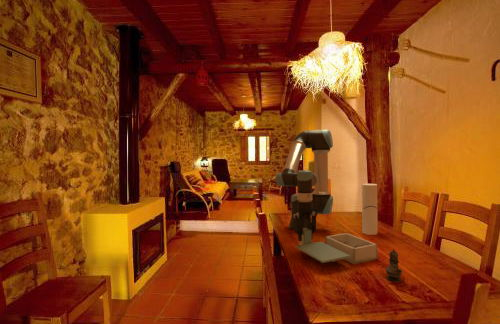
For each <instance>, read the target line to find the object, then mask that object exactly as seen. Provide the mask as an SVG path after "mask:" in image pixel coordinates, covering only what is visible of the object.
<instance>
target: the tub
mask: <svg viewBox="0 0 500 324" xmlns="http://www.w3.org/2000/svg"><path fill="white" fill-rule="evenodd" d="M324 238H325V239H324V241H325V242H324V243H325V244H327V245H329V246H331V247H333V248H336V249H338V250H340V251H342V252H344V253H346V254H348V255H351V257H349V258H344V259H343V260H344V261H346V262H347V263H350V264H352V265H358V264H363V263H367V262H371V261H376V260H378V243H375V242H371V241H370V240H367V239H364V238H361V237H359V236H355V235H353V234H351V233H347V232H344V233H338V234H334V235H333V234H332V235H328V236H327V235H326V236H324ZM336 240H340V241H344V242H345V244H343V243H341V242H339V241H336ZM355 245H364V246H362V247H357V248H355Z"/></svg>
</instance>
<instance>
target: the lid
mask: <svg viewBox="0 0 500 324" xmlns="http://www.w3.org/2000/svg"><path fill="white" fill-rule="evenodd" d="M302 235H304V244H303V245H295V249H297V250H299V251H301V252H303V253H305V254H306V255H308V256H310V257H311V258H313V259H314V260H316V261H319V262H320V263H322V264H324V263H330V262H332V263H334V262H336V261H339V260H344V258H349V257H351V255H348V254H346V253H344V252H342V251H340V250H338V249H336V248H333V247H331V246H329V245H327V244H325V242H323V241H316V242H313V239H312V230H310V229H307V228H303V232H302Z"/></svg>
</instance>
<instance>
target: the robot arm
mask: <svg viewBox="0 0 500 324" xmlns="http://www.w3.org/2000/svg"><path fill="white" fill-rule="evenodd" d="M333 141H334V140H333V136H332V132H331V130H329V129H314V130H313V129H311V130H307V129H306V130H303V131H301V132H300V133H298V134H297V135H296V136H295V137H294V138H293V139H292V141H291V143H290V151H289V153H288V156H287V159H286V161H285V164H284V166H283V169H282V171H281V172H277V173H276V175H275V183H276V185H277V186H278V187H279V186H280V187H297V190H296V191H297V193H294V194H292V195H291V198H290V199H291V201H290V202H291V203H290V205H291V216H290V220H289V224H288V228H289V229H290V230H291V231H292V230H293V231H294V234H296V235H297V239H298V241H299V245H303V244H304V235H302V232H303V228H307V229H310V230H312V240H313V234H315V233H316V231H317V216H318V215H330V214H331V213H332V209H333V205H334V197H333V196H332V195H331V192H330V191H329V161H328V160H329V159H328V158H329V153H330V152H331V149H333V147H334V143H333ZM306 149H311V152H312V153H313V171H312V170H308V169H307V170H298V167H299V164H300V161H301V158H302V156H303V153H304V151H306Z"/></svg>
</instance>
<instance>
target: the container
mask: <svg viewBox="0 0 500 324" xmlns="http://www.w3.org/2000/svg"><path fill="white" fill-rule="evenodd" d="M361 207H362V208H361V215H362V217H361V221H362V223H361V225H362V227H361V229H362V234H364V235H367V236H377V235H378V231H379V230H378V183H362V184H361Z"/></svg>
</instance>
